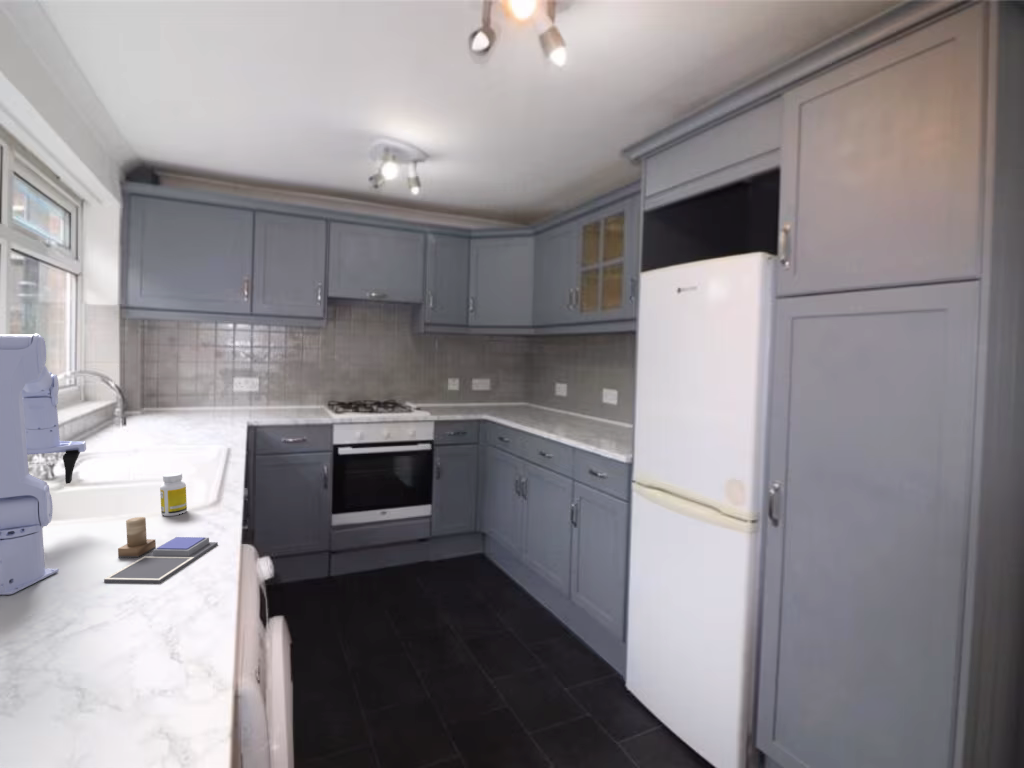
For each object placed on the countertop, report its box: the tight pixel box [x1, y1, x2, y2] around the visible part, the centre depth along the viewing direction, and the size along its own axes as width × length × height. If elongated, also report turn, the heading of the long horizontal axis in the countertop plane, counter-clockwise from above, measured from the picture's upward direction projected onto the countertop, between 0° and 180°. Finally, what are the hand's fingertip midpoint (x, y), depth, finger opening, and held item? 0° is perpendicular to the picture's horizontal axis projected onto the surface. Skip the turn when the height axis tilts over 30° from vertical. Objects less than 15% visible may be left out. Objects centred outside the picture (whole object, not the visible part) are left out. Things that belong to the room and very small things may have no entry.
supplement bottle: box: [159, 472, 188, 517], centre depth 132 cm, size 5×5×10 cm
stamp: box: [117, 516, 157, 559], centre depth 107 cm, size 5×4×7 cm
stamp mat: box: [103, 536, 219, 584], centre depth 103 cm, size 18×10×2 cm, turn 179°
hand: (47, 483), depth 120 cm, fingers open, 7 cm apart
